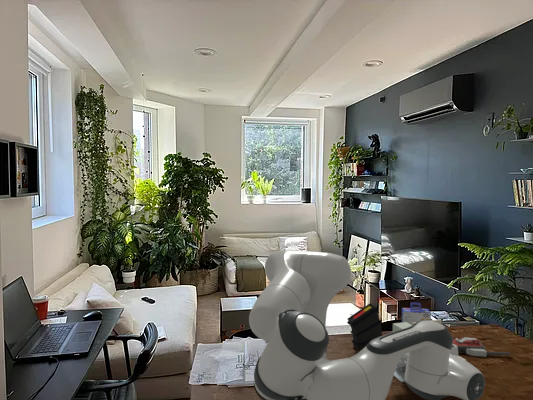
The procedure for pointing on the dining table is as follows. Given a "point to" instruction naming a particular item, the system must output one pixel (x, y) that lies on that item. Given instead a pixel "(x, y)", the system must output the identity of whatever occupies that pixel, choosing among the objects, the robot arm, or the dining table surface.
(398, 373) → the mat
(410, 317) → the ink cartridge box
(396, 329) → the box
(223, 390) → the dining table surface
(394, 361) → the robot arm
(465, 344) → the walkie-talkie
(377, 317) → the magazine
